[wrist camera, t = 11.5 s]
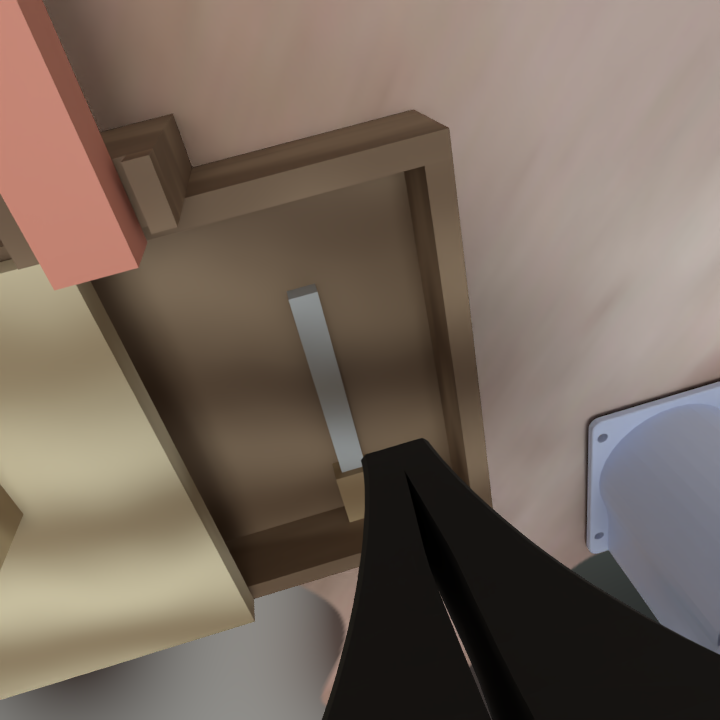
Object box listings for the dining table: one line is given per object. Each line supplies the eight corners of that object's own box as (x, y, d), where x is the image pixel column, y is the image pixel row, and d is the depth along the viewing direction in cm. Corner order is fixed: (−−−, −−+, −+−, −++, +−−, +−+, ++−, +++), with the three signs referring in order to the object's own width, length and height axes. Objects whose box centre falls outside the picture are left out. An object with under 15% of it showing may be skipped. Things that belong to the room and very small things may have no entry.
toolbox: (465, 469, 27) (518, 572, 22) (87, 582, 26) (52, 717, 21) (405, 53, 17) (476, 69, 12) (-198, 208, 16) (-384, 293, 11)
